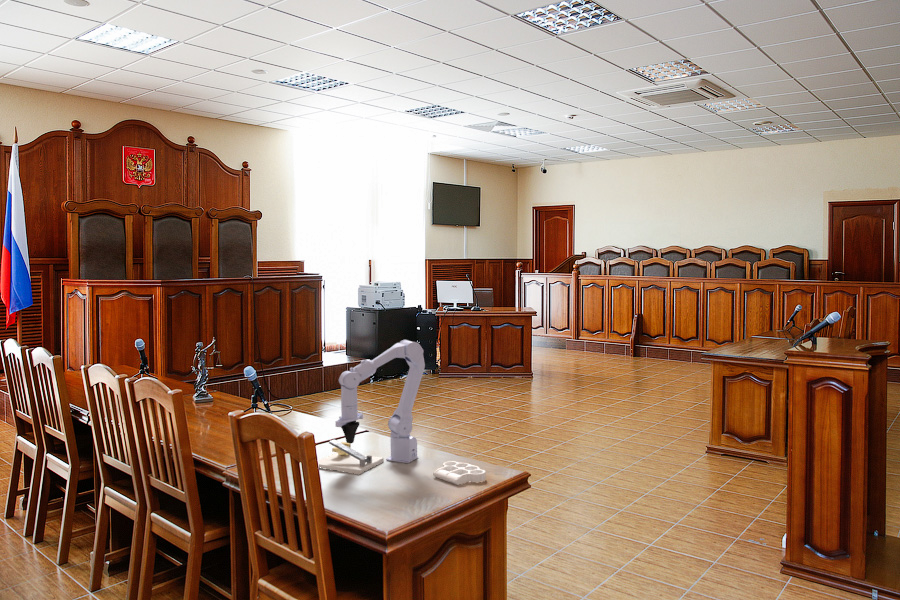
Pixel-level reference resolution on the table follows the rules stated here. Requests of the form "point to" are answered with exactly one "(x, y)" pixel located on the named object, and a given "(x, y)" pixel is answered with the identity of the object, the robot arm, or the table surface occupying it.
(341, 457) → the board
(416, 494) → the table surface
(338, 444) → the dark grey flat bar
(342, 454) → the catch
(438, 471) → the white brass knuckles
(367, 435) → the table surface
